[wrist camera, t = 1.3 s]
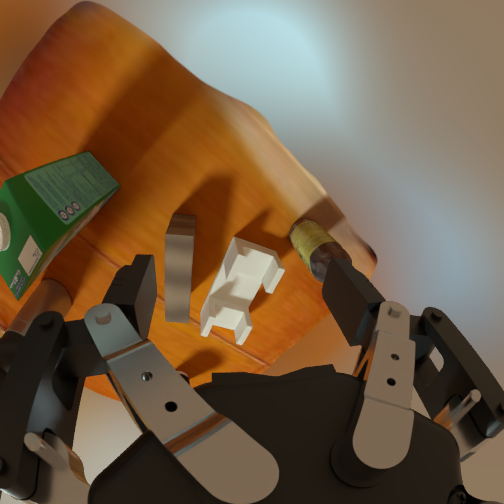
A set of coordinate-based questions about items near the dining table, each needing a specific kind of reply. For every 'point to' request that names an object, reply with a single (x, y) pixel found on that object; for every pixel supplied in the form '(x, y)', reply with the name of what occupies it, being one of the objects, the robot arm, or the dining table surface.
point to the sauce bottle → (315, 247)
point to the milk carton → (47, 214)
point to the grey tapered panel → (179, 267)
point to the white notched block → (239, 287)
